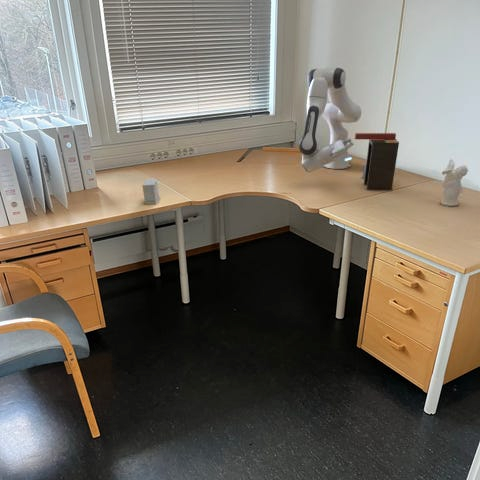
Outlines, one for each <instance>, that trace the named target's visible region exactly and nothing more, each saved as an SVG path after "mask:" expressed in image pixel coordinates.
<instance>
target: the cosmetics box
mask: <svg viewBox="0 0 480 480" xmlns="http://www.w3.org/2000/svg"><path fill="white" fill-rule="evenodd" d="M158 185H159V184H158V179H146V180H145V181H144V183H143V184H142V192H143V200H144V204H145V205H157V203H158V201H159V200H160V192H159V186H158Z"/></svg>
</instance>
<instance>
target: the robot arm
mask: <svg viewBox="0 0 480 480" xmlns="http://www.w3.org/2000/svg"><path fill="white" fill-rule="evenodd" d="M346 78H347V77H346V72H345V70H344V69H343V68H340V67H323V68H314V69H313V68H312V69H311V70H310V71H309V72H308V74H307V79H306V82H307V85H308V92H307V99H306V120H305V125H304V126H305V127H304V130H303V131H304V132H303V135H302V137H301V138H300V140H299V142H298V149H299V152H300V153H301V157H302V159H301V166H302V167H303V168H304V170H305V171H306V172H307V173H313V172H316V171H318V170H320V169H321V168H327V169H331V170H343V169H347V168H351V167H352V164H350V160H352V157H350V153H349V152H348V150H349V149H351V147H353V146H354V143H353V141H352V139H351V138H350V137H349V132H348V130H347V129H346V128H345V127H344V126H343V124H342V123H347V124H350V123H351V124H353V123H357V122H358V121H360V119H361V117H362V109H361V106H359V104H357V103H355V102H354V101H353V100H352V99H351V97H350V96H349V94H348V91H347V88H346V84H345V83H346ZM327 101H329V102H327ZM321 116H322V118H323V120H324V121H326V123H327V125H328V128H329V132H330V133H329V134H330V139H329V144H327V145H325V146H324V147H323V148H321V149H320V147H319V143H318V141H317V139H316V134H317V133H316V132H317V127H318V121H319V119H320V117H321Z"/></svg>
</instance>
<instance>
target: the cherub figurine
mask: <svg viewBox="0 0 480 480" xmlns="http://www.w3.org/2000/svg"><path fill="white" fill-rule="evenodd" d="M455 166H456V165H455V162H454V160H453V159H452V158H450V159H449V161H448V164H447V166H446V167H445V169H444V170H443V171H441V174H442V175H443V176H444V179H443V181H442V185H441V186H442V188H444V189H443V193H442V196H443V197H442V199H441V201H440V204H441V205H442V206H445V207H446V206H447V207H456V206H458V205H459V202H458V200H459V199H458V198H459V197H460V194H463V192H464V191H463V185H462V181H461V180H462V179H463V177H466V175H467V174H468V172H469V169H468V167H467V166H466V165H465V164H463V165H459V166H457V167H456V168H455Z"/></svg>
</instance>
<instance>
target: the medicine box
mask: <svg viewBox="0 0 480 480" xmlns="http://www.w3.org/2000/svg"><path fill="white" fill-rule="evenodd" d="M365 170H366V163H364V164H363V167H362V176H361V179H363V180H364V178H365Z"/></svg>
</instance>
